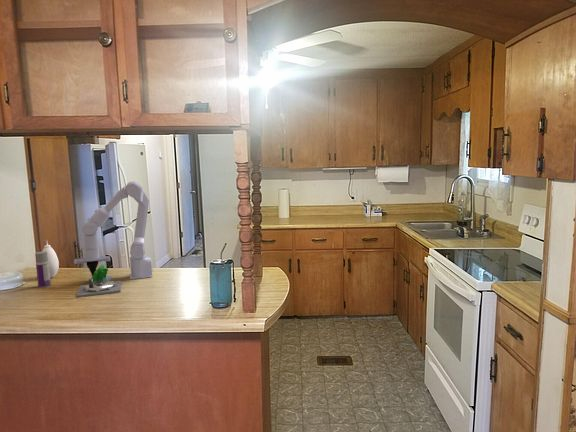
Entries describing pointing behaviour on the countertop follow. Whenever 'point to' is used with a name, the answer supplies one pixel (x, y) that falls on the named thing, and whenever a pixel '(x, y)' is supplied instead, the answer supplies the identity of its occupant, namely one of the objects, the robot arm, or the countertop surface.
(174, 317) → the countertop surface
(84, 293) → the mount plate
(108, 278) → the mat
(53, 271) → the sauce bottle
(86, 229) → the robot arm
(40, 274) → the container
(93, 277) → the pipe clamp
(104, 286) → the sprocket
